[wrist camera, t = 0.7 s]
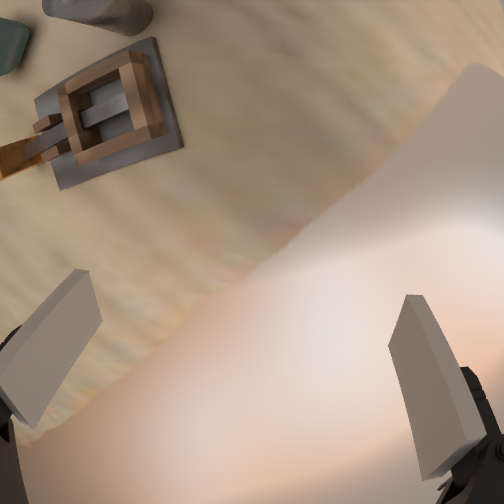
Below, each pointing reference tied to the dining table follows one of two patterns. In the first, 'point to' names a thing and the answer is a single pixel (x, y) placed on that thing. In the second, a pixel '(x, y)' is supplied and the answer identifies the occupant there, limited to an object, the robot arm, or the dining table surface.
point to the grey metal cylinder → (103, 13)
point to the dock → (117, 128)
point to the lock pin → (54, 137)
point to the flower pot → (11, 44)
